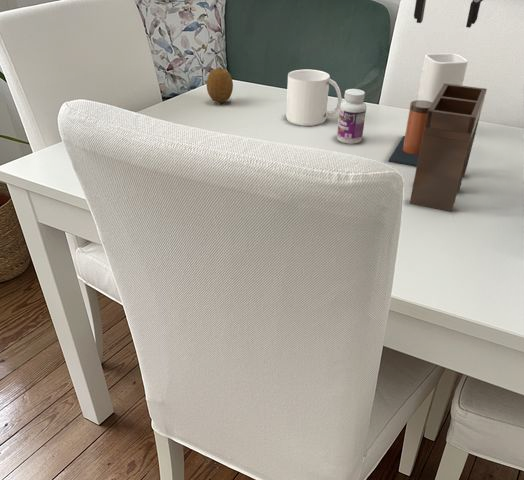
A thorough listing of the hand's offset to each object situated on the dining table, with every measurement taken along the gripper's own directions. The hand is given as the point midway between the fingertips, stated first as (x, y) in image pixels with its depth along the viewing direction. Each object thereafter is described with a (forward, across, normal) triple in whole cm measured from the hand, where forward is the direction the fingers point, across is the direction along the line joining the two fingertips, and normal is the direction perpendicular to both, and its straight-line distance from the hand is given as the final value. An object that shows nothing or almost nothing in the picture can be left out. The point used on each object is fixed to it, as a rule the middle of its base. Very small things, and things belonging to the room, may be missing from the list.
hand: (443, 24), depth 100 cm
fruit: (+23, -50, +11) cm, 56 cm away
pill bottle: (+23, -15, +1) cm, 28 cm away
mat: (+23, -1, 0) cm, 23 cm away
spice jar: (+23, -1, 0) cm, 23 cm away
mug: (+23, -26, +9) cm, 36 cm away
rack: (+23, +6, -15) cm, 28 cm away
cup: (+23, 0, +14) cm, 27 cm away
